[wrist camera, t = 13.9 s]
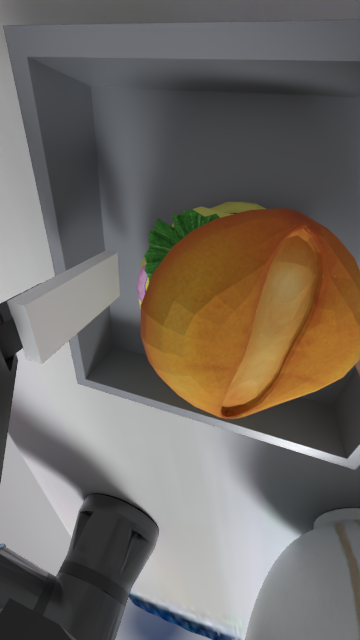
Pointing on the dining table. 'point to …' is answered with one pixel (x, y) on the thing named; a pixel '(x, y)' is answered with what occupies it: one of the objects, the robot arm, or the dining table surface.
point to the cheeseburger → (248, 307)
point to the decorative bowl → (313, 585)
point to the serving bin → (191, 172)
